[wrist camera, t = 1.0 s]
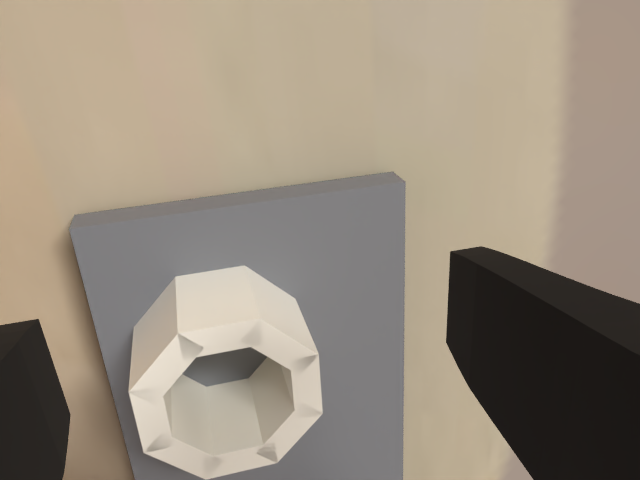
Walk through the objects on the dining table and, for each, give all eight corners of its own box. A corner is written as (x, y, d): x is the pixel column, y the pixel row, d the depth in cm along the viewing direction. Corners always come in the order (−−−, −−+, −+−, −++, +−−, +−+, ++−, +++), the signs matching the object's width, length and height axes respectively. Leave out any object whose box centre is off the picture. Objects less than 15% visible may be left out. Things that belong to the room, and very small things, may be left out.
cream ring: (303, 386, 22) (325, 451, 19) (154, 417, 21) (153, 492, 18) (292, 257, 20) (315, 308, 17) (124, 284, 19) (116, 344, 16)
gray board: (393, 545, 29) (402, 566, 28) (174, 605, 27) (174, 630, 26) (393, 171, 21) (405, 182, 20) (74, 214, 19) (69, 228, 18)
